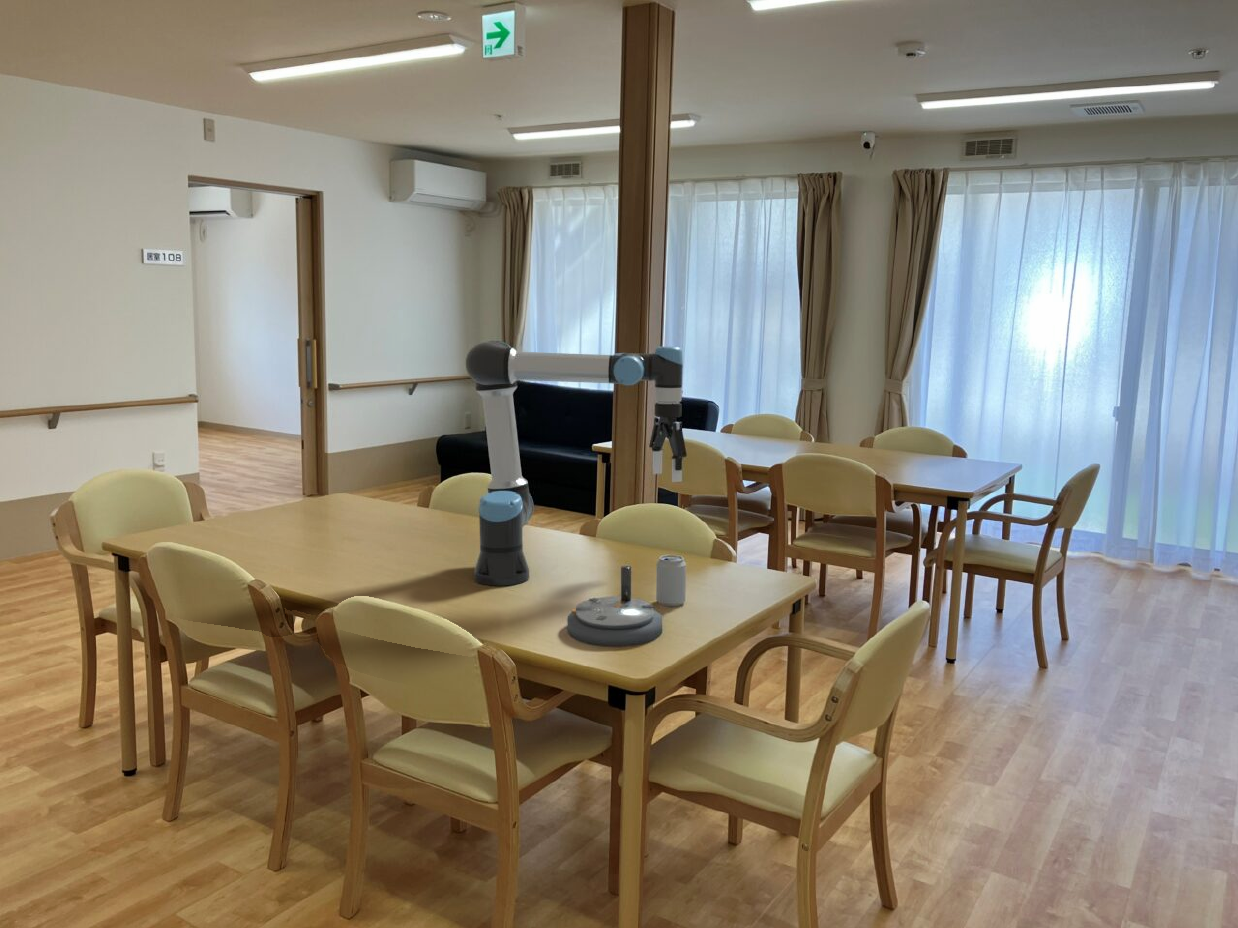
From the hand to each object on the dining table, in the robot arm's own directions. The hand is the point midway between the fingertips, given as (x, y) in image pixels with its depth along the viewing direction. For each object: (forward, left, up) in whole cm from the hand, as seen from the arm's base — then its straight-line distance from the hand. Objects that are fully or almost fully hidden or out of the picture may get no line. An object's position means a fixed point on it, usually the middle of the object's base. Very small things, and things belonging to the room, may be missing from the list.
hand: (666, 477), depth 272 cm
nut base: (-22, -50, -27) cm, 61 cm away
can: (-5, -31, -27) cm, 41 cm away
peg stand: (-22, -50, -23) cm, 59 cm away
